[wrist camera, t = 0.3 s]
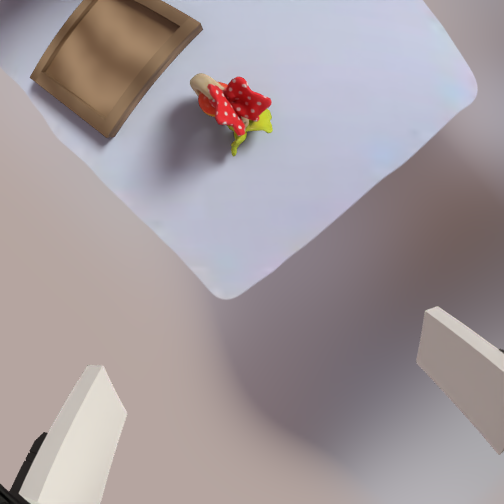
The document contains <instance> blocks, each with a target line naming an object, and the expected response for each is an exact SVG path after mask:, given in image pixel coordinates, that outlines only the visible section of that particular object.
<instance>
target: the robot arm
mask: <svg viewBox="0 0 504 504" xmlns="http://www.w3.org/2000/svg"><path fill="white" fill-rule="evenodd" d="M416 363H417V364H418V365H419V366H420V367H421V368H422V369H423V370H424V371H425V372H426V374H428V376H429V377H430V378H431V379H432V380H433V381H434V382H435V383H436V384H437V385H438V386H439V387H440V389H441V390H442V391H443V392H444V393H445V394H446V395H447V396H448V397H449V398H450V399H451V401H452V402H453V403H454V404H455V405H456V406H457V407H458V408H459V409H460V410H461V412H462V413H463V414H464V415H465V416H466V417H467V418H468V419H469V420H470V422H471V423H472V424H473V425H474V426H475V427H476V429H477V430H478V431H479V432H480V433H481V434H482V436H483V437H484V438H485V439H486V440H487V441H488V443H490V445H491V446H492V447H493V448H494V450H495V451H496V452H497V453H498V454H499V455H500V454H501V453H502V452H503V451H504V350H501V349H497V348H496V347H494V346H493V345H492V344H490V343H489V342H487V341H486V340H485V339H483V338H482V337H481V336H479V335H478V334H477V333H475V332H474V331H472V330H471V329H470V328H468V327H467V326H465V325H464V324H463V323H461V322H460V321H458V320H457V319H455V318H454V317H453V316H451V315H450V314H448V313H447V312H445V311H444V310H442V309H441V308H439V307H434V308H432V309H428V310H425V314H424V321H423V327H422V333H421V339H420V345H419V350H418V355H417V360H416ZM126 416H127V412H126V410H125V408H124V407H123V405H122V403H121V401H120V399H119V397H118V395H117V393H116V391H115V389H114V387H113V385H112V383H111V381H110V379H109V377H108V375H107V373H106V370H105V368H104V366H103V365H87V367H86V369H85V371H84V372H83V373H82V375H81V377H80V378H79V380H78V382H77V383H76V385H75V387H74V388H73V390H72V392H71V393H70V395H69V397H68V398H67V400H66V402H65V404H64V405H63V407H62V409H61V410H60V412H59V414H58V416H57V417H56V419H55V421H54V423H53V425H52V427H51V428H50V430H49V432H48V433H45V432H44V433H43V434H42V435H41V436H40V437H38V439H36V440H35V442H34V444H33V445H32V447H31V449H30V453H28V455H27V457H26V461H24V463H23V465H22V467H21V469H20V471H19V473H18V475H17V477H16V479H15V481H14V483H13V485H12V488H11V489H10V491H7V490H6V489H5V488H4V487H3V486H2V485H1V484H0V504H100V503H101V499H102V496H103V492H104V488H105V484H106V481H107V477H108V473H109V470H110V467H111V464H112V460H113V457H114V454H115V450H116V447H117V444H118V441H119V438H120V434H121V431H122V428H123V425H124V422H125V419H126Z"/></svg>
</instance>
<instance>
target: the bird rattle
mask: <svg viewBox="0 0 504 504" xmlns="http://www.w3.org/2000/svg"><path fill="white" fill-rule="evenodd" d="M190 85H191V87H192V89H193V90H194V91H195V93H196V94H197V95H198V96H199V98H198V102H199V106H200V107H201V109H202V110H203V112H204V113H206V114H207V115H209V116H212V117H215V119H216V121H217V123H218V124H219V125H227V126H228V128H229V129H230V130H232V131H234V138H235V141H234V142H233V143H232V144H231V146H232V148H231V152H232V155H233V156H235V155H236V153H237V148H238V147H239V145H240V144H241V143H242V142H243V141H244V140H245V138H246V135H247V131H259V130H263V131H266V132H267V133H271V132H272V125H271V122H270V120H271V118H272V116H271V113H270V111H269V110H268V109H267V108H268V107H269V106H270V105H271V99H270V98H268V97H266V96H263V95H261V94H259V93H256V92H253V91H252V90H251V89H250V88H249V86H248V83H247V82H246V80H245V79H244V78H242V77H236V78H234V79H232V80H231V81H230V83H229V84H228V85H227V84H225V83H221V82H216V81H215V80H214V79H212V78H211V77H209V76H207V75H205V74H202V73H199V74H197V75H195V76H194V77H193V78H192V79H191V80H190Z"/></svg>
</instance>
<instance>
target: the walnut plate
mask: <svg viewBox="0 0 504 504" xmlns="http://www.w3.org/2000/svg"><path fill="white" fill-rule="evenodd" d="M202 30H203V28H202V26H201V23H199V22H198V21H196V20H194V19H193V18H191V17H190V16H188V15H186V14H185V13H183V12H181V11H179V10H178V9H176V8H174V7H172V6H171V5H169V4H167V3H165V2H163V1H161V0H83V1H82V2H81V4H80V5H79V6H78V7H77V8H76V10H75V11H74V12H73V13H72V15H71V16H70V17H69V18H68V20H67V21H66V22H65V24H64V25H63V26H62V28H61V29H60V30H59V32H58V33H57V35H56V36H55V38H54V39H53V40H52V42H51V43H50V45H49V46H48V48H47V49H46V51H45V53H44V54H43V56H42V57H41V59H40V61H39V62H38V64H37V66H36V67H35V69H34V71H33V73H32V74H31V76H30V78H31V79H32V80H33V81H35V82H36V83H37V84H38V85H40V86H41V87H42V88H44V89H45V90H46V91H47V92H49V93H50V94H51V95H53V96H54V97H55V98H56V99H58V100H59V101H60V102H61V103H63V104H64V105H65V106H67V107H68V108H69V109H70V110H72V111H73V112H74V113H76V114H77V115H78V116H79V117H81V118H82V119H83V120H84V121H86V122H87V123H88V124H90V125H91V126H92V127H93V128H95V129H96V130H97V131H99V132H100V133H101V134H102V135H104V136H105V137H106V138H110V137H115V135H116V134H117V132H118V131H119V129H120V128H121V127H122V125H123V124H124V122H125V121H126V119H127V118H128V116H129V115H130V114H131V112H132V111H133V110H134V108H135V107H136V105H137V104H138V103H139V101H140V100H141V99H142V98H143V96H144V95H145V94H146V92H147V91H148V90H149V89H150V87H151V86H152V85H153V84H154V82H155V81H156V80H157V79H158V78H159V76H160V75H161V74H162V73H163V72H164V70H165V69H166V68H167V67H168V66H169V65H170V64H171V62H172V61H173V60H174V59H175V58H176V57H177V56H178V55H179V54H180V53H181V51H182V50H183V49H184V48H185V47H186V46H187V45H188V44H189V43H190V42H191V41H192V40H193V39H194V38H195V37H196V36H197V35H198V34H199V33H200V32H201V31H202Z"/></svg>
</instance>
